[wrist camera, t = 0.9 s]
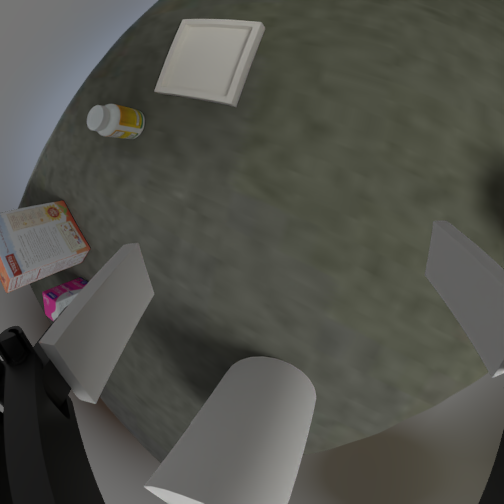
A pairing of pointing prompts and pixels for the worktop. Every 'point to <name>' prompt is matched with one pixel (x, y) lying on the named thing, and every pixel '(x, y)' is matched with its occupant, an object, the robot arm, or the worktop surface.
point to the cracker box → (38, 243)
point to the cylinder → (242, 439)
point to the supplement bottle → (116, 121)
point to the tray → (210, 60)
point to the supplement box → (61, 297)
